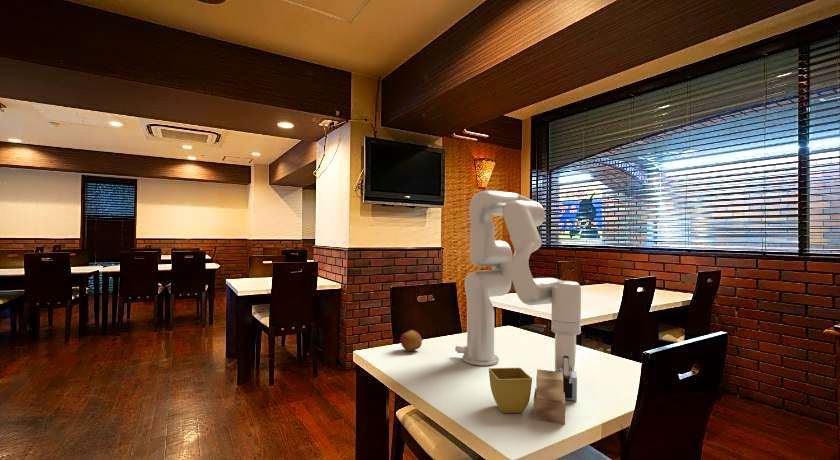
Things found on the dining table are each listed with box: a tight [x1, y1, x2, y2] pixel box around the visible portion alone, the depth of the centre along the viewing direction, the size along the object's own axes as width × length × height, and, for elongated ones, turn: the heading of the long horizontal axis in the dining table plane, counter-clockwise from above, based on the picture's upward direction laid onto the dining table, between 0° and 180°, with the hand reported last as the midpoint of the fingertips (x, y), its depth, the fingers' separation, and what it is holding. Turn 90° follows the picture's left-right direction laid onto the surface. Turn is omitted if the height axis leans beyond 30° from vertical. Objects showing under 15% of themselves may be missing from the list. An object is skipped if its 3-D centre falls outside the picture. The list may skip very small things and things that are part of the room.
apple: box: [399, 329, 423, 352], centre depth 148 cm, size 8×8×8 cm
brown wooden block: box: [533, 387, 566, 425], centre depth 94 cm, size 7×7×5 cm
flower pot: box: [488, 367, 533, 414], centre depth 98 cm, size 9×9×9 cm
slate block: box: [554, 369, 578, 402], centre depth 106 cm, size 6×6×6 cm
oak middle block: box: [535, 369, 563, 402], centre depth 94 cm, size 6×6×5 cm
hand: (565, 392), depth 106 cm, fingers closed on slate block, 5 cm apart
